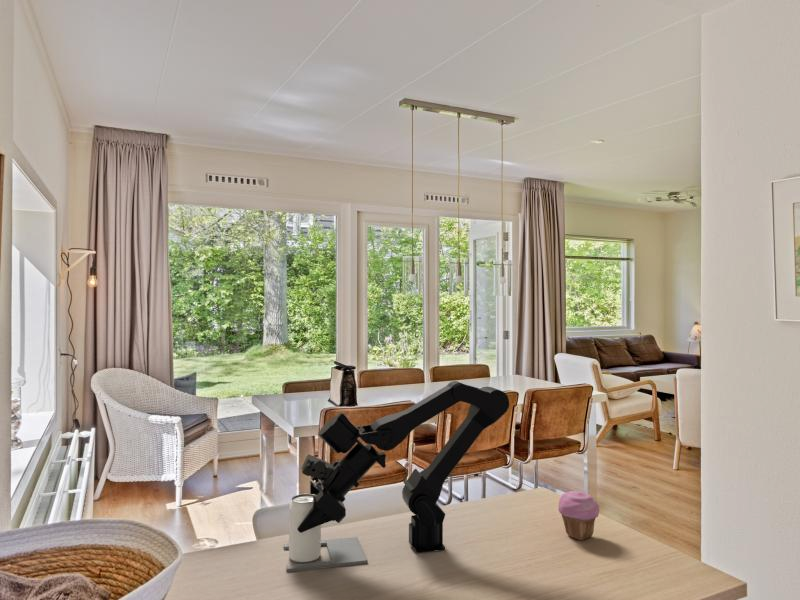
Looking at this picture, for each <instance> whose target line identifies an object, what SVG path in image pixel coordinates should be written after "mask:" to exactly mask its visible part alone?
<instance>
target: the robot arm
mask: <svg viewBox="0 0 800 600" xmlns="http://www.w3.org/2000/svg"><path fill="white" fill-rule="evenodd" d="M459 402H463V403H466V404H470V405H469V408H468V411H467V414H466V417H465V419H463V421H462V422H461V423H460V425H458V427H457V429H456V430H455V431H454V433H453V434H452V435H451V436H450V437H449V439H448V440H447V442H446V443H445V444H444V446H443V447H442V448H441V449H440V450H439V452H438V453H437V455H436V456H435V457H434V458H433V460H432V461H431V463H430V464H429V465H428V466H427V467H426V468H425V469H422V470H421V471H419V470H418V469H417V468H414V469H413V471H412V473H411V474H410V476H409V477H408V478H407V479H406V480H404V481H403V484H404V486H403V488H402V491H401V493H402V499H403V501H404V503H405V505H406V506H407V507H408V509H409V511H411V514H413V515H411V516H410V517H411V518H410V521H411V522H409V524H408V543H409V545H410V546H411V547H412V548H413V550H414V551H415V553H416V554H419V553H420V554H421V553H429V552H440V551H445V550H446V546H445V545H444V544H443V542H444V541H443V540H444V539H443V537H444V534H443V533H444V525H443V524H444V520H445V518H446V513H445V511H444V510H443V509H442V508H441V506H440V505H439V504H438V503H437V502H438V501H439V499H440V496H441V493H442V489H443V486H444V484H445V481H446V479H447V478H448V477H449V476H450V475H451V474H452V472H453V470H454V469H455V468H456V467H457V465H458V464H459V463H460V462H461V460H462V459H463V458H464V457H465V454H466V453H467V452H468V451H469V450H470V448H471V447H472V446H473V445H474V443H475V441H476V440H477V439H478V438H479V437H480V435H481V434H482V432H483V431H484V430H485V429H487V428H489V427H490V426H492V425H493V424H495V423H497V421H499V420H500V419H501V418H502V417H503V416H504V415H505V414H506V413H507V412H508V410H509V408H510V399H509V397H508V395H507V393H506V392H504V391H503V390H500V389H498V388H494V387H493V386H482V387H480V388H479V387H476V386H473V385H468V384H465V383H462V382H459V381H458V380H453V381H450V382H448V384H447V385H446V386H444V387H441V388H440V389H438V390H437V391H435V392H433V393H431V394H430V395H428V396H427V397H425V398H423V399H422V400H420V401H418V402H417V403H415V404H413V405H411V406H410V407H408V408H406V409H405V410H402V411H400V412H394V413H391V414H388V415H385V416H383V417H380V418H377V419H375V420H374V421H373V422H371V424H365V425H359V426H356V425H354V424H353V422H351V421H350V420H349V418H348V417H347V415H346V414H345V413H344V412H343V411H340V412H339V413H338V414H337V415H335V416H334V417H332V418H331V419H329V420H328V421H326V423H325V424H323V426H322V427H321V428H320V429H319V430H318V433H317V436H318V437H320V439H321V440H323V442H324V443H325V444H326V445H327V446H329V447H330V448H331V450H333V451H334V452H335V453H336V454H340V453H342V454H345V455H344V456H343V457H342V458H341V459H337V460H335V459H334V461H332V463H330V462H328V461H325V460H323V459H321V458H319V457H316V456H314V455H311V454H307V455H306V457H305V460H304V461H303V464H302V466H301V468H300V469H301V473H302V474H303V475H305V476H306V477H309V476H310V478H311V480H312V481H311V480H310V481H309V494H314V495H317V496H316V498H315V497H314V496H313V507H312V508H311V510H310V511H309V512H308V514H307V515H306V517H305V518H304V519H303V521H302V522H301V524H300V525H299V527H298V528H297V530H298V531H299V532H300V533H302V532H304V531H307V530H309V529H311V528H314V527H316V526H319V525H321V526H322V525H324V524H327V523H329V522H336V523H338V524H339V523H341V522H342V521H343V519H345V518H346V516H347V515H346V514H347V513H346V510H347V509H346V507H345V504H344V501H345V500H346V497H345V496H347V494H348V493H349V492H350V491H351V490H352V489H353V487H354V488H356V489H357V488H358V487H359V485H360V480H361V479H362V478H363V477H364V476H365V475H366V474H367V473H368V472H369V470H371V469H372V467H373V466H374V465H375V464H376V463H377V464H378V465H380V467H381V468H382V469H385V468H386V467H387V465H386V458H387V454H386V453H385V452H387V451H391V450H393V449H395V448H396V447H397V446H399V445H400V444H402V442H404V440H405V439H407V438H408V436H409V435H410V433H411V432H412V431H413V430H415V429H416V428H417V427H419V426H421V425H422V424H424V423H426V422H427V421H429V420H431V419H433V418H434V417H436V416H437V415H439V414H441V413H442V412H445V411H446V410H448V409H449V408H450V407H453V406H454V405H455V404H457V403H459ZM359 438H360V439H361V440H362V441H363V442H364V443H365V444H366V445H365V444H364V443H363V442H362V441H361V440H360V439H359ZM373 445H374V446H376V448H377V449H379V450H381V451H382V452H379V451H378V450H377V449H376V448H375V447H374V446H373ZM383 451H384V452H383Z"/></svg>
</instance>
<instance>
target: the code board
mask: <svg viewBox="0 0 800 600" xmlns="http://www.w3.org/2000/svg"><path fill="white" fill-rule="evenodd" d="M322 545H327V546H326V549H327V552H328V556H329V559H330V560H327V561H326V560H325V561H324V560H323V561H316V562H315V561H314V562H308V563H298V564H297V563H296V564H289V565H288V564H287V565H286V567H285V569H286V573H291V572H299V571H309V570H316V569H326V568H327V569H328V568H336V567H344V566H345V567H346V566H353V565H354V566H356V565H364V564H368V563H369V562H368V558H367V555H366V553H365V551H364V549H363V546H362V545H361V543H360V540H359V537H358V536H351V537H342V538H332V539H331V538H330V539H321V547H323V546H322ZM283 550H284V551H285V550H289V542H288V543H283Z"/></svg>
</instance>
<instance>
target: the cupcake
mask: <svg viewBox="0 0 800 600" xmlns="http://www.w3.org/2000/svg"><path fill="white" fill-rule="evenodd" d="M557 508H558V512H559V514H560V515H561V517H562V521H563V525H564V529H565V533H566V535H567V536H569V537H571V538H574V539H575V540H579V541H583V540H586V539H588V538H591V537H592V536H593V534H594V530H595V529H594V528H595V521H596V519H597V517H599V514H600V506H599V504H598V503H597V501H596V500H595V498H594V497H592V496H591V495H590V494H589V493H586V492H584V491H571V490H570V491H567V492H564V493H562V494H561V496H560V498H559V500H558V507H557Z"/></svg>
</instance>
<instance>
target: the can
mask: <svg viewBox="0 0 800 600" xmlns="http://www.w3.org/2000/svg"><path fill="white" fill-rule="evenodd" d="M313 496H314V497H315V498H316V496H317V495H314V494H310V493H302V494H301V493H300V494H296V495H294V496H292V497H291V501H290V504H289V509H288V510H289V511H288V512H289V513H288V514H289V515H288V516H289V517H288V543H289V549H288V557H289V558H290V560H291V561H292V562H294V563H298V564H305V563H313V562H315V561H317V560H318V559H319V557H320V556H321V554H322V553H321V549H322V546H321V540H322V524H321V525H319V526H316V527H314V528H311V529H309V530H307V531H304V532H302V533H300V532H299V531H298V530H297V528H298V527H299V525H300V524H301V522H302V521H303V519H304V518H305V517H306V515H307V514H308V512H309V511H310V510H311V508H312V507H313Z"/></svg>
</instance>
